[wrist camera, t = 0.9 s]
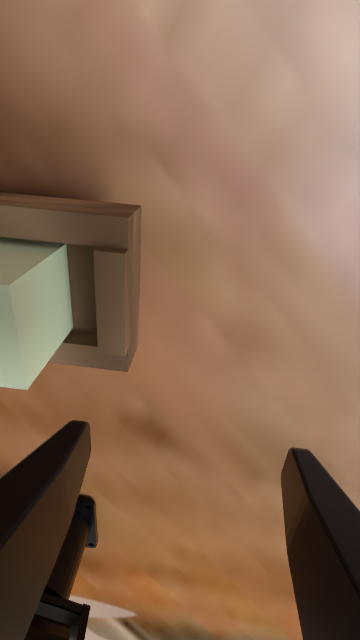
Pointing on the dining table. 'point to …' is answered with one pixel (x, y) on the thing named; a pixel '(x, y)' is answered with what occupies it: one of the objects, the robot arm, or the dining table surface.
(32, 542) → the robot arm
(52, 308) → the pale green cube
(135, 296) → the beam
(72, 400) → the dining table surface
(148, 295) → the dining table surface
